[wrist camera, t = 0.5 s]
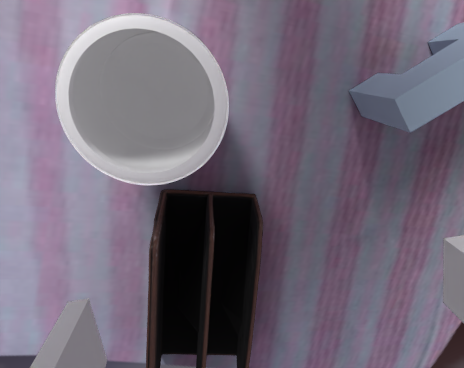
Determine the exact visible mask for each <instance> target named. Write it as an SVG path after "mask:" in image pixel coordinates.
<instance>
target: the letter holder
mask: <svg viewBox="0 0 464 368" xmlns="http://www.w3.org/2000/svg"><path fill="white" fill-rule="evenodd" d="M262 233H263V221H262V216H261V213H260V209H259V205H258V202H257V198H256V195H255V194H243V193H223V192H205V191H189V190H162V191H161V193H160V198H159V203H158V207H157V211H156V215H155V219H154V228H153V234H152V238H151V242H150V249H149V291H148V322H147V353H146V368H160V362H161V355H162V354H193V355H197V362H196V368H205V367H206V356H207V355H236V356H237V368H249V362H250V354H251V346H252V337H253V328H254V320H255V309H256V299H257V290H258V281H259V271H260V260H261V248H262Z"/></svg>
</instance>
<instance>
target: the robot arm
mask: <svg viewBox="0 0 464 368" xmlns="http://www.w3.org/2000/svg"><path fill="white" fill-rule="evenodd" d="M443 303H444V304H445V305H446V306H447V307H448V308H449V309H450V310H451V311H452V312H453V313H454V314H455V315H456V316H457V317H458V318H459V319H460V320H461V321H462V322H463V323H464V235H461V236H455V237H449V238H444V243H443ZM106 363H107V358H106V355H105V351H104V348H103V344H102V341H101V338H100V334H99V331H98V328H97V324H96V321H95V317H94V314H93V311H92V307H91V304H90V301H89V298H88V299H82V300H76V301H70V302H67V304H66V306H65V308H64V309H63V311H62V313H61V315H60V316H59V318H58V320H57V321H56V323H55V325H54V327H53V328H52V330H51V332H50V334H49V335H48V337H47V339H46V341H45V342H44V344H43V346H42V348H41V349H40V351H39V353H38V354H37V356H36V358H35V360H34V361H33V363H32V365H31V367H30V368H105V366H106Z"/></svg>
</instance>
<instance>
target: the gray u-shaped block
mask: <svg viewBox="0 0 464 368" xmlns="http://www.w3.org/2000/svg"><path fill="white" fill-rule="evenodd" d="M428 44H429V46H430V48H431V51H432V53H433V55H432V56H431V57H429V58H427V59H426V60H424V61H423V62H421V63H419V64H418V65H416V66H414V67H413V68H411V69H409V70H408V71H406V72H404V73H403V74H389V73H377V74H375V75H374V76H372V77H370V78H369V79H367V80H365V81H364V82H362V83H361V84H359V85H357V86H356V87H354V88H352V89H351V90H349V92H350V94H351V96H352V98H353V100H354V102H355V104H356V106H357V108H358V110H359V112H360V114H361V116H362V117H365V118H368V119H371V120H374V121H377V122H380V123H383V124H386V125H389V126H392V127H395V128H398V129H401V130H404V131H407V132H410V133H411V132H412V131H414V130H416V129H418V128H419V127H421V126H423V125H424V124H426V123H428V122H429V121H431V120H433V119H434V118H436V117H438V116H439V115H441V114H443V113H444V112H446V111H448V110H450V109H451V108H453V107H455V106H456V105H458V104H460V103H461V102H463V101H464V23H459V24H457V25H455V26H453V27H452V28H450V29H448V30H447V31H445V32H444V33H442V34H440V35H439V36H437V37H435V38H434V39H432V40H431V41H429V42H428Z"/></svg>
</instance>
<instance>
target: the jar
mask: <svg viewBox="0 0 464 368" xmlns="http://www.w3.org/2000/svg"><path fill="white" fill-rule="evenodd" d="M55 100H56V108H57V112H58V116H59V120H60V123H61V125H62V128H63V130H64V132H65V134H66V136H67V137H68V139H69V141H70V142H71V144H72V145H73V147H74V148H75V149H76V150H77V152H78V153H79V154H80V155H81V156H82V157H83V158H84V159H85V160H86V161H87V162H88V163H90V164H91V165H92V166H93V167H95V168H96V169H98V170H99V171H101V172H102V173H104V174H106V175H108V176H110V177H112V178H115V179H117V180H120V181H123V182H127V183H131V184H137V185H161V184H167V183H171V182H174V181H177V180H180V179H182V178H185V177H187V176H188V175H190V174H192V173H194V172H195V171H196V170H198V169H199V168H200V167H202V166H203V165H204V164H205V163H206V162H207V161H208V160H209V159H210V158H211V156H212V155H213V154H214V152H215V151H216V149H217V148H218V146H219V144H220V142H221V140H222V138H223V136H224V133H225V130H226V126H227V122H228V115H229V97H228V90H227V86H226V82H225V79H224V76H223V73H222V71H221V69H220V67H219V65H218V63H217V61H216V59H215V58H214V56H213V55H212V53H211V52H210V51H209V49H208V48H207V47H206V46H205V45H204V44H203V42H202V41H201V40H199V39H198V38H197V37H196V36H195V35H194V34H193V33H191V32H190V31H189V30H187V29H186V28H184V27H182V26H181V25H179V24H177V23H175V22H173V21H170V20H168V19H165V18H162V17H159V16H155V15H150V14H142V13H128V14H120V15H115V16H112V17H108V18H106V19H103V20H101V21H99V22H97V23H95V24H93V25H91V26H90V27H88V28H87V29H86V30H84V31H83V32H82V33H81V34H80V35H79V36H78V37H77V38H76V39H75V40H74V41H73V42H72V44H71V45H70V46H69V48H68V49H67V51H66V53H65V54H64V56H63V58H62V61H61V63H60V66H59V69H58V73H57V77H56V84H55Z"/></svg>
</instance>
